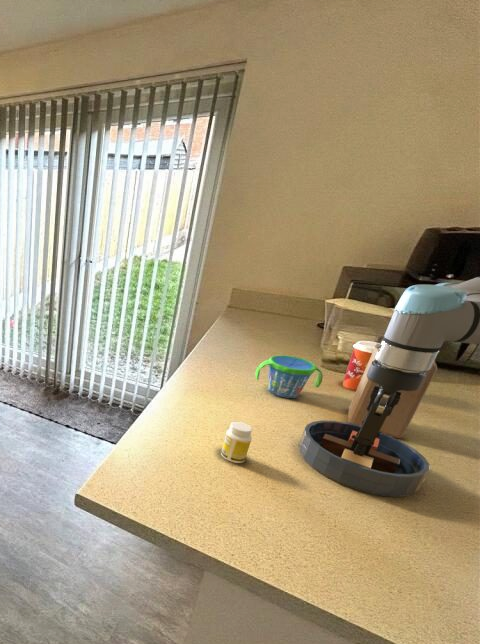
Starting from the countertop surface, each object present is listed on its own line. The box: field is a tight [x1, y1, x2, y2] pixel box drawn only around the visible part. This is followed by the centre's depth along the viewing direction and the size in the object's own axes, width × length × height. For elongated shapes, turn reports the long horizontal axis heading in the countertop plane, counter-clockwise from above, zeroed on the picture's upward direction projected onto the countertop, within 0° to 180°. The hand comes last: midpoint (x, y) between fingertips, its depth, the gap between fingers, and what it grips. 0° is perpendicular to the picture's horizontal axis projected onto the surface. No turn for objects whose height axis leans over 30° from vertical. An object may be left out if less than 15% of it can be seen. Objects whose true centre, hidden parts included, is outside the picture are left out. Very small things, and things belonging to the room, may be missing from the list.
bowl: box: [297, 419, 431, 498], centre depth 86 cm, size 20×20×6 cm
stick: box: [320, 434, 400, 473], centre depth 85 cm, size 12×2×4 cm, turn 41°
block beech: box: [341, 449, 374, 469], centre depth 82 cm, size 4×4×4 cm
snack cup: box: [254, 354, 324, 399], centre depth 115 cm, size 16×11×10 cm
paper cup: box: [342, 340, 381, 392], centre depth 116 cm, size 8×8×14 cm
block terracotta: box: [348, 431, 380, 451], centre depth 88 cm, size 4×4×4 cm
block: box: [347, 348, 438, 439], centre depth 97 cm, size 10×10×20 cm
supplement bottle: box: [220, 421, 253, 464], centre depth 89 cm, size 5×5×8 cm
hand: (353, 461), depth 85 cm, fingers closed on stick, 2 cm apart
